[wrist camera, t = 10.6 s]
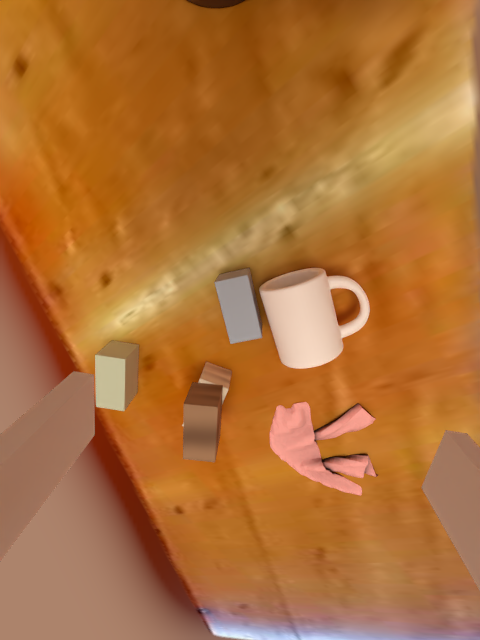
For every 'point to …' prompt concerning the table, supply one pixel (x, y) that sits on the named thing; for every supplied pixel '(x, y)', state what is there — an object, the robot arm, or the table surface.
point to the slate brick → (239, 305)
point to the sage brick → (116, 375)
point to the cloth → (303, 453)
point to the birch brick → (216, 377)
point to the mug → (309, 316)
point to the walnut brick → (202, 422)
